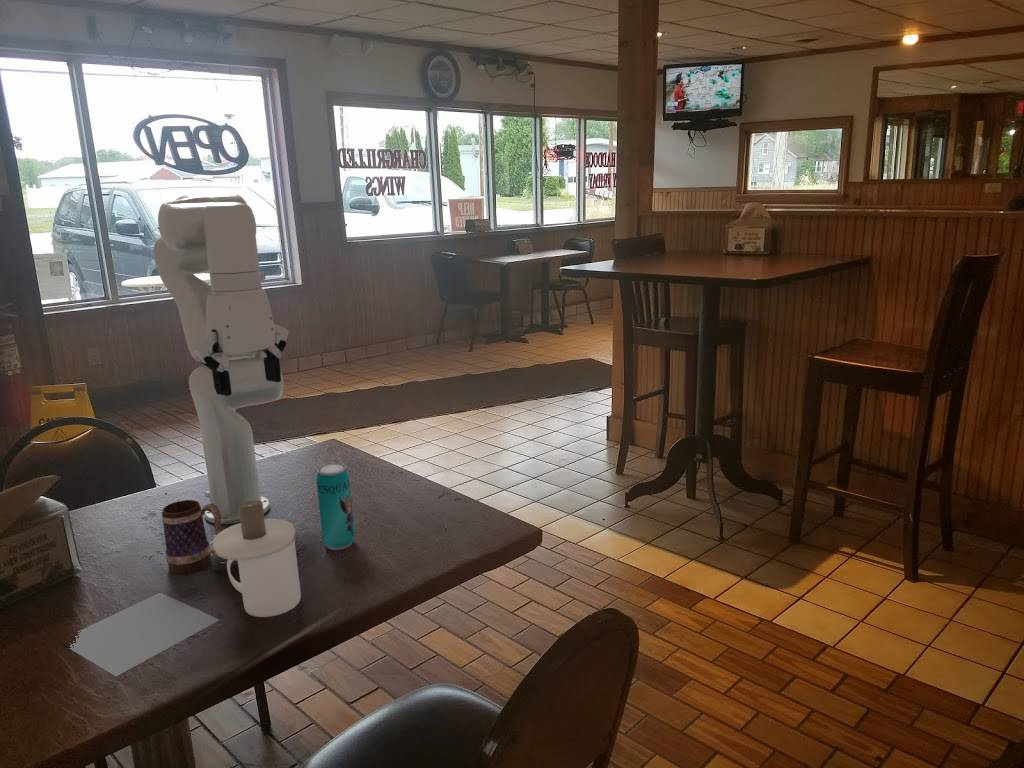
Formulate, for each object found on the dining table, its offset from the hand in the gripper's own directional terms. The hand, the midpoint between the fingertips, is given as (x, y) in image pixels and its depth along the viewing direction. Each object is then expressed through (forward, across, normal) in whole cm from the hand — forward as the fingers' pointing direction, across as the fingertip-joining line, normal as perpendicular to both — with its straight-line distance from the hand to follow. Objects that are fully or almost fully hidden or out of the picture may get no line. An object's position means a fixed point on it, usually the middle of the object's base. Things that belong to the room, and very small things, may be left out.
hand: (249, 387), depth 122 cm
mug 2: (+32, +9, +9) cm, 35 cm away
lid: (+22, +9, +9) cm, 25 cm away
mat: (+32, +24, 0) cm, 40 cm away
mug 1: (+32, +7, -11) cm, 35 cm away
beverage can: (+32, -12, +4) cm, 35 cm away
